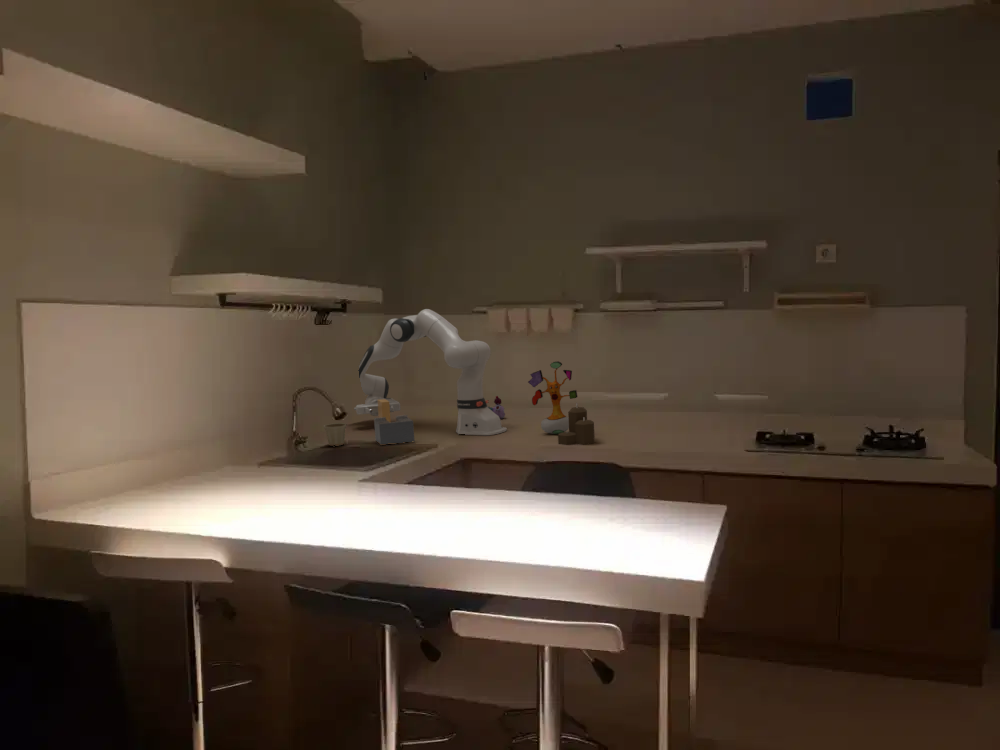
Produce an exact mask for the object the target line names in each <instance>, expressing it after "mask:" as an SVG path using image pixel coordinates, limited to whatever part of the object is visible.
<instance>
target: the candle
mask: <svg viewBox="0 0 1000 750" xmlns="http://www.w3.org/2000/svg"><path fill="white" fill-rule="evenodd" d="M578 405H579V404H578V402H576V404H575V407H571V408H570V410H569V411H568V416H567V417H568V418H569V429H568V430H567V431H565V432H563V433H559V434H557V439H558V440H557V441H558V442H557V443H558V445H562V446H570V445H581V446H586V445H594V444H595V422H594V421H593V420H592V419H588V410H587V409H586V408H585V407H583V406H578Z"/></svg>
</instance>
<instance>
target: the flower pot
mask: <svg viewBox="0 0 1000 750" xmlns="http://www.w3.org/2000/svg"><path fill="white" fill-rule="evenodd" d="M323 428H324V430H325V433H326V438H327V443H328V445H329V444H334V445H335V444H341V443H344V444H345V438H346V437H345V436H346V429H347V423H344V422H343V423H340V422H338V423H329V424H324V425H323Z"/></svg>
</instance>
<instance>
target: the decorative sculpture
mask: <svg viewBox="0 0 1000 750" xmlns="http://www.w3.org/2000/svg"><path fill="white" fill-rule="evenodd" d="M562 365H563V363H562V362H560V361H559V360H558V361H557V360H556V361H553V362H551V363H550V364H549V366H550V368H552V369H555V370H554V381H552V382H551V381H549V380H548V379H547V378H546V377H544V376H543V372H542V370H541V369H540V370H538V371H537V370H536V371H535V372H532V373H530V374H529V375H530V377H531V379H529V380H528V381H527V383H528V384H529V385H531V387H532V388H536V386H538V385H539V384H541V383H542V382H543V381H545V382H546V389H545V390H544V391H542V390H541V389H537V390H536V391H535V393H534V395H533V396H532V398H531V403H532V405H533V406H537V404H538V402H539V399H542V398H543V397H544V395H543V394H545V393H548V394H549V396H550V400H551V404H552V411H551V414H550V415H549V416H548V417H546V418H544V419H542V420H541V422H540V426H541V427H540V428H541V430H542V431H544V432H545V433H547V434H551V435H559V433H563V432H567V431H569V417H568V416H567V415H565V414H564V413H563V411H562V408H561V400H562V399H563V398H564V397H569V399H577V398H578V391H577V389H575V390H570V391H568V394H564V395H562V394H561V392H560V391H561V389H560V388H561V387H562V385H564V384H565V381H566V380H567V379H568V381H569V382H570V381H571V380H572V377H573V376H572V375H573V374H572V372H573V370H570V369H563V370H562V371H563V372H564V374H565V375H566V377H565V378H564V379H563V381H562V383H560V382H558V380H557V370H558V369H559V368H560V367H562Z"/></svg>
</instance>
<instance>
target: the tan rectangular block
mask: <svg viewBox="0 0 1000 750" xmlns="http://www.w3.org/2000/svg"><path fill="white" fill-rule="evenodd" d="M378 415H379V416H378V418H382V417H386V420H387V421H389V422H392V419H391V412H390V404H389V401H387V400H386V399H381V400H378Z"/></svg>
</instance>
